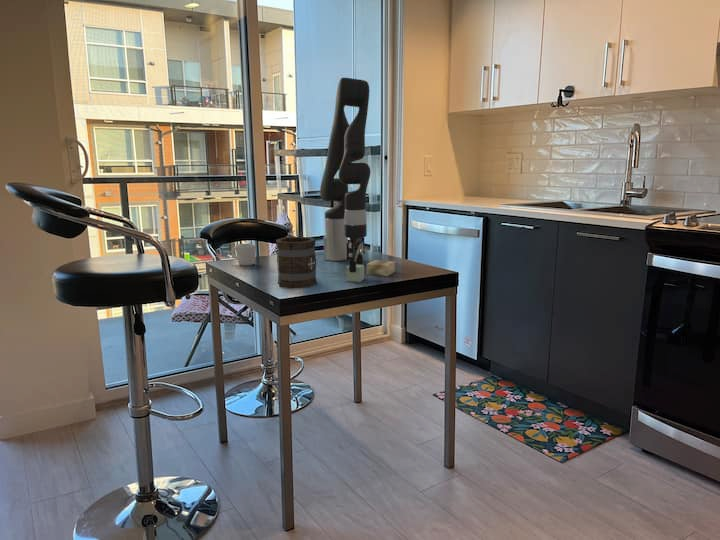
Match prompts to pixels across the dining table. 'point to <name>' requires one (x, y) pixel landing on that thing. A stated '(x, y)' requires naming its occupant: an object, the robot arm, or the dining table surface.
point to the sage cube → (355, 274)
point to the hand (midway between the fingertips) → (356, 269)
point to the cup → (245, 254)
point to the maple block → (381, 267)
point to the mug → (296, 262)
